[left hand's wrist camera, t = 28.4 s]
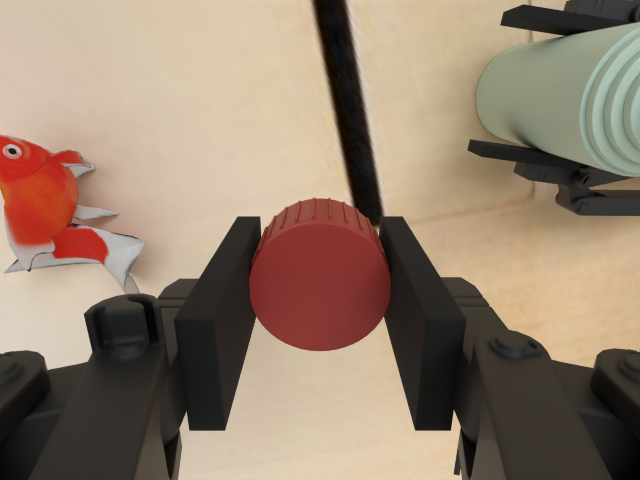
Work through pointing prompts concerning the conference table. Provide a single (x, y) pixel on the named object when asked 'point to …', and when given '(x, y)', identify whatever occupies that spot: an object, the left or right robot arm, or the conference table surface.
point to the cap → (320, 276)
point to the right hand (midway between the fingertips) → (492, 85)
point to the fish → (56, 214)
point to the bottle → (569, 97)
